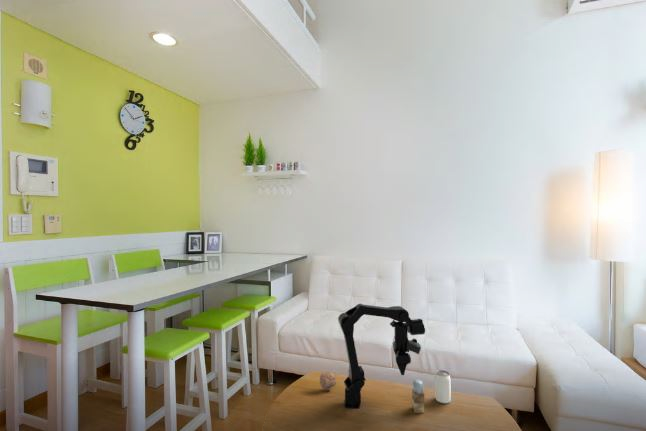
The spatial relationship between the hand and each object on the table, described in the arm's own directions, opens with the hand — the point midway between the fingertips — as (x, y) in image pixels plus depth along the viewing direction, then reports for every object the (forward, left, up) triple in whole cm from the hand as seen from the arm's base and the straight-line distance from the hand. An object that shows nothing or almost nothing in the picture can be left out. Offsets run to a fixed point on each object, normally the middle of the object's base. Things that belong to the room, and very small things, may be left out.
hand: (401, 370), depth 153 cm
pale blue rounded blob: (+6, -8, -5) cm, 11 cm away
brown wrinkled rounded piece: (-34, +5, -13) cm, 37 cm away
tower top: (+6, -8, -9) cm, 13 cm away
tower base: (+6, -8, -13) cm, 16 cm away
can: (+18, +1, -13) cm, 22 cm away
